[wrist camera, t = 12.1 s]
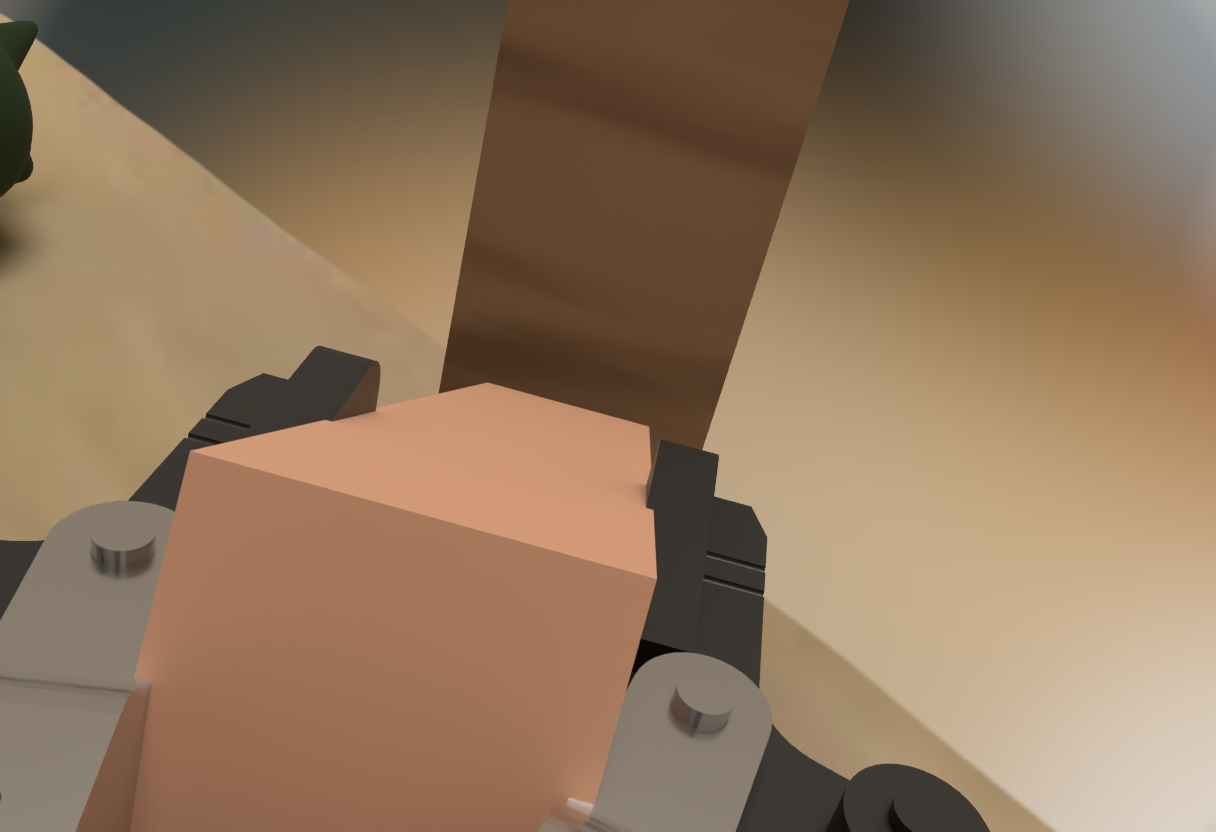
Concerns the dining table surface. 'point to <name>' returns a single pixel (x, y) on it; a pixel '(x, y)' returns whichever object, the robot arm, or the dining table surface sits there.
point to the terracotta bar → (397, 620)
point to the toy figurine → (14, 104)
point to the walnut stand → (632, 199)
